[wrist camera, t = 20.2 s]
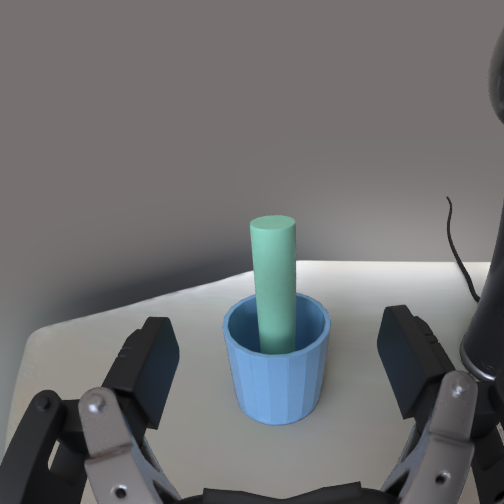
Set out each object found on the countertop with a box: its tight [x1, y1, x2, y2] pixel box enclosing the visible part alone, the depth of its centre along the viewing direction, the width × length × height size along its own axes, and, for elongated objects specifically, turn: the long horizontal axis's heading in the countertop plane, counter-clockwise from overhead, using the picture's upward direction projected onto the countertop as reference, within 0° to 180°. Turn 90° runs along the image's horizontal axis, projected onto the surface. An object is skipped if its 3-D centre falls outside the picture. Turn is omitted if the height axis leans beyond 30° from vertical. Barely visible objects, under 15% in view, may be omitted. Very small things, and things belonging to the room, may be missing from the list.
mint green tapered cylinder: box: [250, 215, 296, 355], centre depth 20 cm, size 3×3×16 cm
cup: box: [222, 293, 331, 425], centre depth 22 cm, size 8×8×9 cm
